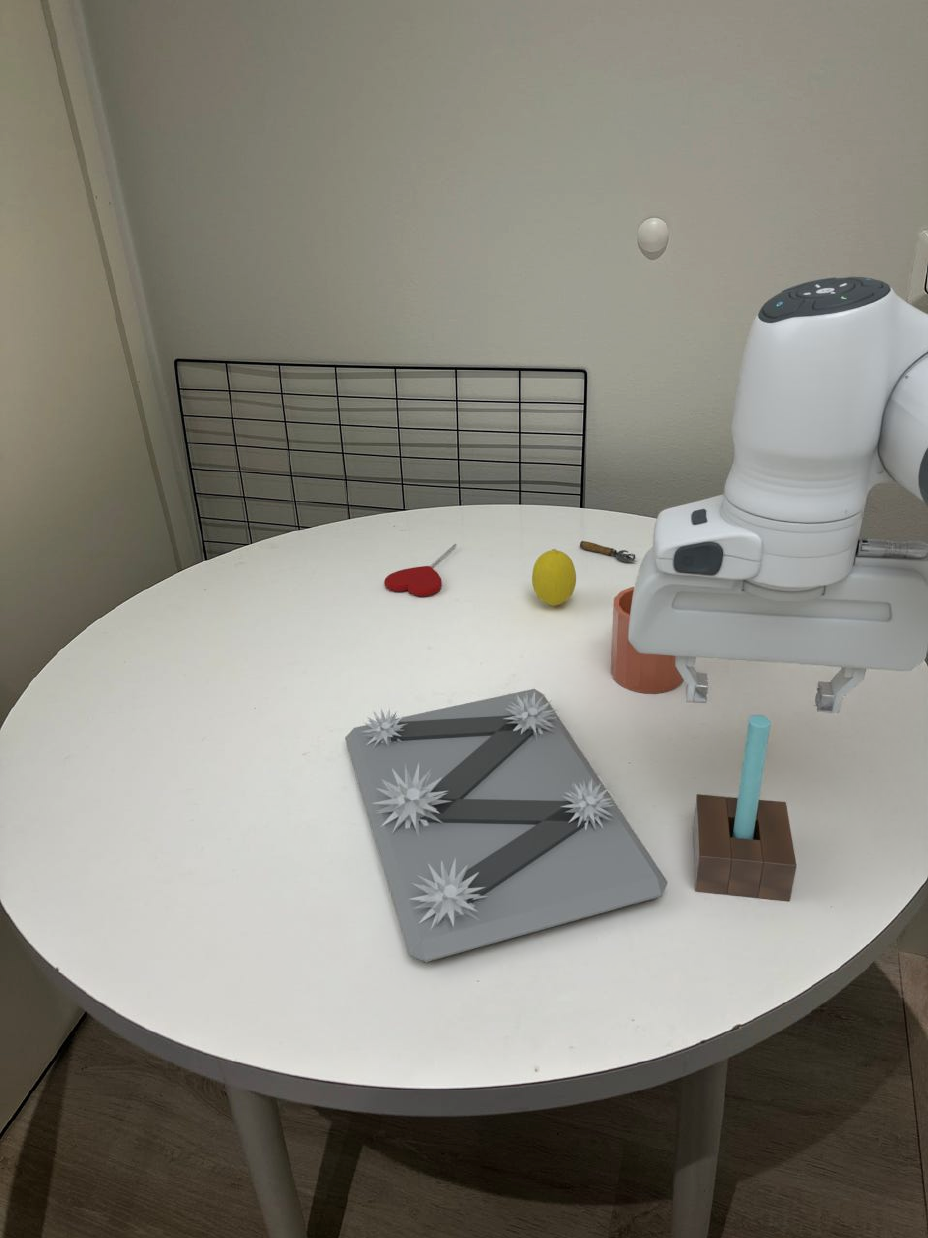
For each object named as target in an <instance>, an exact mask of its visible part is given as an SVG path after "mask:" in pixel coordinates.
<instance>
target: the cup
mask: <svg viewBox="0 0 928 1238" xmlns="http://www.w3.org/2000/svg"><path fill="white" fill-rule="evenodd" d="M634 587H635V586H631V587H628V588H626V589H623V590H621V591H619V592H618V593H617V594H616V595H615V596H614V598H613V603H612V605H613V606H612V628H611V629H612V630H611V650H610V674H611V676H612V679H613V681H615V682H616V683H617V684H618V685H619V686H621V687H623V688H624V689H627V690H629V691H632V692H634V693H635V692H636V693H640V694H653V695H654V694H663V693H667V692H670V691H672V690H675V689H677V688H678V687H680V686H681V684H683V682H685V681H684V679H683V678H682V676H681V674H680V673H679V671H678V670H677V668H676V666H675V656H674V655H659V654H644V653H639V652H637V651H636V649H635V648H634V647H633V646H632V645H631V643H630V642H629V640H628V634H629V621H630V611H631V604H632V598H633V592H634Z"/></svg>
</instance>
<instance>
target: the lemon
mask: <svg viewBox="0 0 928 1238" xmlns="http://www.w3.org/2000/svg"><path fill="white" fill-rule="evenodd" d="M531 583H532V589H533V591H534V593H535V595H536V597H537V598H538V599H539V600H540V601H542V602H543V603H545V604H548V605H550V606H551V607H557V606H558V605H560V604H563V603H565V602H567V600H570V597H572V595H573V593H574V592H575V589H576V586H577V585H576V584H577V572H576V568H575V565H574V562H573V560H572V559H571V557H570V556H569V555H568V554H567V553H565V552H564V551H561V550H557V548H553V549H551V550H548V551H545V552H543V553H541V555H539V556H538V558H537V559H536V561H535V562H534V565H533V568H532V576H531Z"/></svg>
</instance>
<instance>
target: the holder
mask: <svg viewBox="0 0 928 1238" xmlns="http://www.w3.org/2000/svg"><path fill="white" fill-rule="evenodd" d="M737 801H738V797H733V796H724V795H712V794H699V793H697V794H696V795H695V803H694V805H695V806H694V814H693V823H692V840H693V841H692V842H693V843H692V844H693V845H692V846H693V866H694V867H693V868H694V871H693V872H694V891H695V892H701V893H709V894H717V895H728V896H735V897H736V896H737V897H744V898H745V897H747V898H754V899H757V898H758V899H764V900H772V901H773V900H774V901H784V902H790V901H791V897H792V892H793V887H794V881H795V877H796V871H797V865H798V864H797V860H796V859H797V858H796V854H795V848H794V843H793V837H792V830H791V824H790V819H789V813H788V807H787V806H788V805H787V802H786V801H781V800H779V801H778V800H770V799H769V800H766V799H759V802H758V809H757V815H756V821H755V828H754V834H753V839H743V838H732V837H733V830H734V822H735V815H736V808H737Z"/></svg>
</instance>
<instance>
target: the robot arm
mask: <svg viewBox="0 0 928 1238" xmlns="http://www.w3.org/2000/svg"><path fill="white" fill-rule="evenodd" d="M739 367H740V368H739V372H738V378H737V384H736V390H735V395H734V396H735V397H734V403H733V411H732V418H731V427H730V428H731V429H730V431H731V437H732V442H733V452H734V453H733V462H732V465H731V468H730V471H729V472H728V475H727V478H726V480H725V482H724V487H723V493H722V494H719V495H718V494H717V495H715V496H712V497H708V498H704V499H701V500H697V501H692V502H689V503H684V504H681V505H676V506H673V507H672V506H671V507H669V508H665V509H663V510H661V511H660V512H659V513H658V515H657V517H656V520H655V522H654V528H653V534H652V547H651V548H650V549H648V551H647V552H646V553H645V555H644V556H643V557H642V560H641V562H640V565H639V568H638V571H637V574H636V578H635V584H634V586H633V587H634V592H633V598H632V604H631V611H630V621H629V634H628V640H629V642H630V643H631V645H632V646H633V647H634V648H635V649H636V651H637V652H639V653H644V654H659V655H674V656H675V666H676V668H677V670H678V671H679V673H680V674H681V676H682V678H683V679H684V681H683V682H685V686H686V687H685V701H686V703H694V704H707V702H708V694H709V693H708V692H709V680H708V679H709V675H708V673H706V672H697V670H696V668H695V665H696V658H704V659H719V660H720V659H721V660H733V661H734V660H735V661H748V662H749V661H750V662H764V663H776V664H777V663H778V664H791V665H792V664H795V665H807V666H821V667H822V666H824V667H837V668H840V669H839V671H837V673H836V674H835V675H834V676H833V677H832V678H831V680H829V681H820V680H819V681H817V686H816V690H817V692H816V693H815V698H814V703H815V704H814V705H815V706H816V712H817V713H826V714H827V713H828V714H838V715H839V714H840V712H841V708H842V703H843V699H844V697H846V696H848V694H849V693H851V691H853V690H854V689H855V688H856V687H857V686H859V684H860V683H862V682H863V681H864V680H865V676H866V672H867V670H881V671H882V670H884V671H895V672H911V671H912V670H914V669H915V668H917V667H918V666H919V665H920V664H922V663H924V661H925V660H926V658H927V654H928V543H927V542H923V541H917V540H906V541H892V540H885V539H876V538H860V533H861V527H862V522H863V518H864V513H865V508H866V503H867V499H868V494H869V492H870V491H871V489H872V488H873V487H874V486H876V485H879V484H884V483H885V484H886V483H898V484H899V485H900V486H902V487H903V488H905V489H906V490H907V491H908V492H910V493H911V494H912V495H914V496H915V497H916V498H917V499H919V500H921V501H922V502H923V503H924V504H925V505H926V506H927V507H928V313H926V312H924V311H922V310H920V309H919V308H917V307H915V306H914V305H912V304H910V303H909V302H907V301H906V300H904V299H903V297H900V296H899V295H898V294H897V293H896V292H895V290H894V289H893V287H892V286H891V285H889V284H888V283H887V282H885V281H883V280H880V279H875V278H871V277H864V276H847V277H827V278H820V279H814V280H810V281H806V282H802V283H798V284H797V285H794V286H793V285H792V286H791V287H788V288H786V289H784V290H781V292H779V293H777V294H776V295H774V296H773V297H771V298H769V299H768V300H767V301H766V302H765V303H764V304H763V305H762V306H761V308H760V309H759V310H758V312H757V314H756V315H755V317H754V320H753V322H752V324H751V326H750V329H749V332H748V335H747V338H746V342H745V346H744V350H743V354H742V358H741V362H740V366H739Z"/></svg>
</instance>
